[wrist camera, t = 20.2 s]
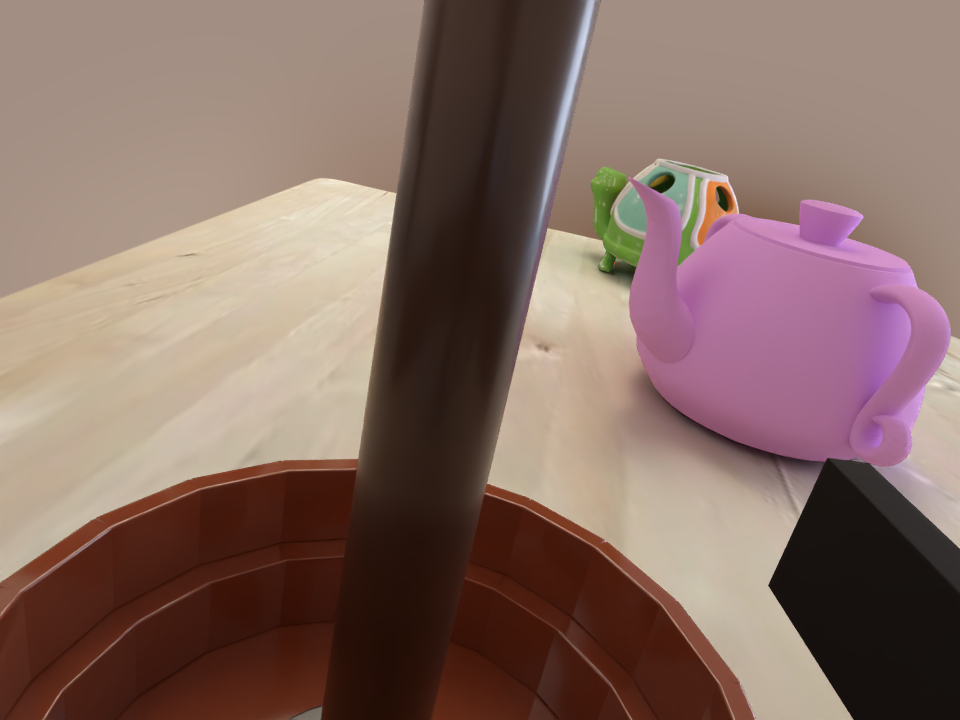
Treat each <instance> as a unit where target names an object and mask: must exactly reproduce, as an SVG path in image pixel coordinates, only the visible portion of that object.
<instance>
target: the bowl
mask: <svg viewBox="0 0 960 720" xmlns="http://www.w3.org/2000/svg"><path fill="white" fill-rule="evenodd" d="M357 464H358V459H332V460H284V461H283V462H282V461H277V462H272V463H267V464H262V465H257V466H252V467H247V468H242V469H237V470H232V471H227V472H222V473H217V474H212V475H207V476H202V477H197V478H193V479H191V480H187V481H184V482H182V483H179V484H177V485H174V486H172V487H170V488H167V489H165V490H162V491H160V492H157V493H155V494H152V495H150V496H147V497H145V498H143V499H140V500H138V501H135V502H133V503H130V504H128V505H125V506H123V507H121V508H118V509H116V510H113V511H111V512H108V513H106V514H103V515H101V516H99V517H97V518H96V519H93V520H91V521H90V522H88V523H87V524H85V525H84V526H82V527H81V528H79V529H78V530H77V531H75V532H74V533H72V534H71V535H69V536H68V537H66V538H65V539H63V540H62V541H60V542H59V543H58V544H56V545H55V546H53V547H52V548H50V549H49V550H47V551H46V552H44V553H43V554H41V555H40V556H39V557H37V558H36V559H34V560H33V561H31V562H30V563H28V564H27V565H25V566H24V567H22V568H21V569H20V570H18V571H17V572H15V573H14V574H12V575H11V576H9V577H8V578H6V579H5V580H3V581H2V582H1V583H0V720H288V719H290V718H292V717H293V716H296V715H298V714H300V713H302V712H304V711H306V710H309V709H312V708H315V707H318V706H321V705H323V700H324V694H325V687H326V680H327V673H328V666H329V659H330V652H331V645H332V638H333V631H334V624H335V617H336V610H337V603H338V596H339V589H340V582H341V576H342V569H343V562H344V555H345V548H346V541H347V534H348V527H349V520H350V513H351V506H352V499H353V492H354V485H355V478H356V471H357ZM431 720H756V718H755V716H754V713H753V711H752V709H751V706H750V704H749V702H748V700H747V697H746V695H745V693H744V690H743V688H742V686H741V685H740V682H739V680H738V679H737V677H736V676H735V675H734V674H733V672H732V671H731V670H730V668H729V667H728V666H727V664H726V663H725V662H724V660H723V659H722V658H721V657H720V655H719V654H718V653H717V651H716V650H715V649H714V647H713V646H712V645H711V644H710V642H709V641H708V640H707V638H706V637H705V636H704V634H703V633H702V632H701V631H700V629H699V628H698V627H697V625H696V624H695V623H694V621H693V620H692V619H691V617H690V616H689V615H688V614H687V612H686V611H685V610H684V608H683V607H682V606H681V604H680V603H679V602H678V601H676V600H675V598H673V597H672V596H671V595H670V594H669V593H667V592H666V591H665V590H664V589H663V588H662V587H660V586H659V585H658V584H657V583H656V582H654V581H653V580H652V579H651V578H650V577H649V576H647V575H646V574H645V573H644V572H643V571H641V570H640V569H639V568H638V567H637V566H636V565H634V564H633V563H632V562H631V561H630V560H628V559H627V558H626V557H625V556H624V555H623V554H621V553H620V552H619V551H618V550H617V549H615V548H614V547H613V546H612V545H611V544H610V543H608V542H605V540H604V539H602V538H601V537H599V536H597V535H595V534H593V533H592V532H590V531H588V530H586V529H584V528H583V527H581V526H579V525H577V524H575V523H574V522H572V521H570V520H568V519H566V518H565V517H563V516H561V515H559V514H557V513H556V512H554V511H552V510H550V509H549V508H547V507H545V506H543V505H541V504H540V503H538V502H536V501H534V500H532V499H531V500H530V499H529V498H528V497H525V496H522V495H519V494H516V493H513V492H510V491H507V490H504V489H501V488H498V487H495V486H492V485H489V484H487V486H486V490H485V494H484V499H483V503H482V507H481V511H480V516H479V520H478V524H477V528H476V532H475V537H474V541H473V545H472V549H471V554H470V558H469V562H468V566H467V571H466V575H465V579H464V583H463V588H462V592H461V596H460V600H459V604H458V609H457V613H456V617H455V621H454V626H453V630H452V634H451V638H450V643H449V647H448V651H447V655H446V660H445V664H444V668H443V672H442V677H441V681H440V685H439V689H438V693H437V698H436V702H435V706H434V710H433V715H432V719H431Z"/></svg>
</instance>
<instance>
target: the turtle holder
mask: <svg viewBox="0 0 960 720" xmlns="http://www.w3.org/2000/svg"><path fill="white" fill-rule="evenodd" d="M633 179H635V180H637V181H638V182H640V183H642V184H644V185H646V186H648V187H650V188H651V189H653V190H655V191H657V192H659V193H661V194H662V195H664V196H666V197H668V198H670V199H672V200H673V201H674V202H675V203H676V204H677V206H678V208H679V211H680V215H681V221H682V238H681V246H680V252H679V258H678V265H677V267H678V266H679V265H680V264H681V263H682V262H683V261H684V260H685V259H686V258H687V257H688V256H690V255H691V254H692V253H693V252H694V251H695V250H696V249H697V248H699V247H700V246H701V245H702V244H703V242H704V239H705V236H706V234H707V232H708V230H709V228H710V227H711V225H712V224H713V223H714V222H715V221H716V220H717V219H719V218H720V217H722V216H725V215H729V214H739V210H738V204H737V200H736V197H735V194H734V192H733V190H732V187H731V185H730V184H729V182H728V177H727V176H726V175H724V174H721V173H718V172H715V171H711V170H708V169H704V168H701V167H697V166H693V165H689V164H685V163H680V162H676V161H670V160H664V159H657V160H656V161H655V163H653V164H652V165H650V166H649V167H647V168H645V169H644V170H643V171H642V172H640V173H639V174H638V175H636V176H635V177H634V178H633ZM626 183H627V177H626V175H625V174H623V173H620V172H618V171H615V170H613V169H611V168H609V167H603V168H601V169H600V170H599V171H598V173H597V176H596V178H595V179H593V180H592V181H591V189H592V192H593V195H594V210H593V224H594V228H595V230H596V233H597V235H598V236H599V237H600V239H602V240H603V245H604V247H605V249H606V253H605V255H604V257H603V258H602V260H601V261H600V263H599V266H598V267H599V269H601V270H603V271H606V272H609V271H611V270H612V267H613V265H614V262H615V259H616V258H618V259H620V260H622V261H624V262H625V263H628V264H630V265H632V266H634V267H636V268H637V265H638V262H639V259H640V256H641V252H642V249H643V245H644V241H645V236H646V227H647V216H646V212H645V208H644V203H643V201H642V199H641V198H640V196H639V194H638V192H637V191H636V189H635V187H634V186H633V184H632V183H631V181H630V182H629V183H628V184H627V185H626ZM716 189H717V191H718V194H719V198H720V200H719V201H716V197H715V190H716Z"/></svg>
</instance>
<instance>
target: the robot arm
mask: <svg viewBox="0 0 960 720" xmlns="http://www.w3.org/2000/svg"><path fill="white" fill-rule="evenodd" d="M768 586H769V587H770V589H771V591H772V592H773V594H774V595H775V597H776V598H777V600H778V602H779V603H780V605H781V606H782V608H783V609H784V611H785V613H786V614H787V616H788V617H789V619H790V621H791V622H792V624H793V625H794V627H795V628H796V630H797V632H798V633H799V635H800V636H801V638H802V639H803V641H804V643H805V644H806V646H807V647H808V649H809V650H810V652H811V654H812V655H813V657H814V658H815V660H816V661H817V663H818V665H819V666H820V668H821V669H822V671H823V672H824V674H825V676H826V677H827V679H828V680H829V682H830V683H831V685H832V687H833V688H834V690H835V691H836V693H837V694H838V696H839V698H840V699H841V701H842V702H843V704H844V705H845V707H846V709H847V710H848V712H849V713H850V715H851V716H852V718H853V720H960V549H959V548H958V547H957V546H956V545H955V544H954V543H953V542H952V541H951V540H950V539H949V538H948V537H947V536H946V535H945V534H944V533H942V532H941V531H940V530H939V529H938V528H937V527H936V526H935V525H934V524H933V523H932V522H931V521H930V520H929V519H928V518H926V517H925V516H924V515H923V514H922V513H921V512H920V511H919V510H918V509H917V508H916V507H915V506H914V505H913V504H912V503H911V502H909V501H908V500H907V499H906V498H905V497H904V496H903V495H902V494H901V493H900V492H899V491H898V490H897V489H896V488H895V487H894V486H892V485H891V484H890V483H889V482H888V481H887V480H886V479H885V478H884V477H883V476H882V475H881V474H880V473H879V472H878V471H876V470H875V469H874V468H873V467H872V466H871V465H870V464H869V463H863V462H856V461H848V460H841V459H834V458H827V460H826V462H825V464H824V466H823V468H822V470H821V472H820V475H819V477H818V479H817V481H816V483H815V485H814V488H813V490H812V492H811V494H810V496H809V498H808V501H807V503H806V505H805V507H804V509H803V511H802V514H801V516H800V518H799V520H798V522H797V524H796V527H795V529H794V531H793V533H792V535H791V537H790V540H789V542H788V544H787V546H786V548H785V550H784V552H783V555H782V557H781V559H780V561H779V563H778V565H777V568H776V570H775V572H774V574H773V576H772V578H771V581H770V583H769V585H768Z"/></svg>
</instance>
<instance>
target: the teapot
mask: <svg viewBox="0 0 960 720" xmlns="http://www.w3.org/2000/svg"><path fill="white" fill-rule="evenodd" d="M629 180H630V181H631V183H632V184H633V186H634V187H635V189H636V191H637V192H638V194H639V196H640V198H641V199H642V201H643V203H644V208H645V212H646V216H647V227H646V236H645V241H644V245H643V249H642V252H641V256H640V259H639V262H638V265H637V268H636V271H635V274H634V278H633V281H632V285H631V290H630V298H629V309H630V318H631V322H632V324H633V327H634V329H635V332H636V334H637V349H638V352H639V355H640V358H641V360H642V363H643V365H644V367H645V370H646V372H647V374H648V376H649V377H650V379H651V381H652V384H653V385H654V387H655V388H656V390H657V391H658V392H659V393H660V395H661V396H662V397H663V398H664V399H665V400H666V401H668V402H669V403H670V404H671V405H672V406H674V407H675V408H676V409H677V410H679V411H680V412H681V413H683V414H685V415H686V416H688V417H689V418H691V419H692V420H694V421H696V422H698V423H699V424H701V425H703V426H705V427H707V428H709V429H711V430H713V431H715V432H717V433H719V434H721V435H723V436H725V437H727V438H729V439H731V440H733V441H735V442H738V443H741V444H746V445H748V446H751V447H754V448H757V449H760V450H763V451H767V452H771V453H774V454H778V455H782V456H787V457H792V458H796V459H803V460H810V461H821V462H826V460H827V458H834V459H841V460H851V459H855V458H858V457H859V458H860V459H862V460H864V461H866V462H868V463H871V464H874V465H878V466H893V465H896V464H898V463H900V462H901V461H903V460H904V459H906V457H907V456H908V455H909V453H910V451H911V447H912V436H911V432H910V431H911V429H912V428H913V426H914V423H915V421H916V419H917V417H918V415H919V412H920V408H921V404H922V401H923V397H924V392H925V386H926V384H927V383H928V381H929V380H930V379H931V378H932V376H933V375H934V374H935V372H936V371H937V369H938V368H939V366H940V365H941V363H942V361H943V359H944V357H945V355H946V353H947V350H948V347H949V343H950V336H951V331H950V324H949V320H948V318H947V316H946V313H945V311H944V310H943V308H942V307H941V305H940V304H939V303H938V302H937V301H936V300H935V299H934V298H932V296H930V295H929V294H928V293H926V292H924V291H922V290H920V289H918V288H917V284H916V281H915V278H914V275H913V272H912V269H911V268H910V267H909V264H908V263H907V262H906V261H904V260H902V259H901V258H899V257H897V256H895V255H892V254H890V253H888V252H885V251H883V250H880V249H878V248H875V247H872V246H869V245H866V244H864V243H860V242H857V241H855V240H851V239H848V238H847V236H848V235H849V234H850V233H851V232H852V231H853V230H854V229H855V228H856V226H857V225H858V224H859V223H860V221H861V220H862V218H863V216H862V215H861V214H860V213H859V212H857V211H855V210H852V209H849V208H846V207H843V206H840V205H836V204H832V203H828V202H823V201H817V200H803V201H801V204H800V226H799V225H794V224H790V223H784V222H779V221H774V220H767V219H760V218H753V217H750V216H748V215H745V214H729V215H725V216H722V217H720V218H719V219H717V220H716V221H715V222H714V223H713V224H712V225H711V227H710V228H709V230H708V232H707V234H706V236H705V239H704V242H703V244H702V245H701V246H700V247H699V248H697V249H696V250H695V251H694V252H693V253H692V254H691V255H690V256H688V257H687V258H686V259H685V260H684V261H683V262H682V263H681V264H680V265H679V266H678V267H677V265H678V258H679V252H680V246H681V238H682V221H681V215H680V211H679V208H678V206H677V204H676V203H675V202H674V201H673V200H672V199H670V198H668V197H666V196H664V195H662V194H661V193H659V192H657V191H655V190H653V189H651V188H650V187H648V186H646V185H644V184H642V183H640V182H638V181H637V180H635V179H633V178H631V177H629Z"/></svg>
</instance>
